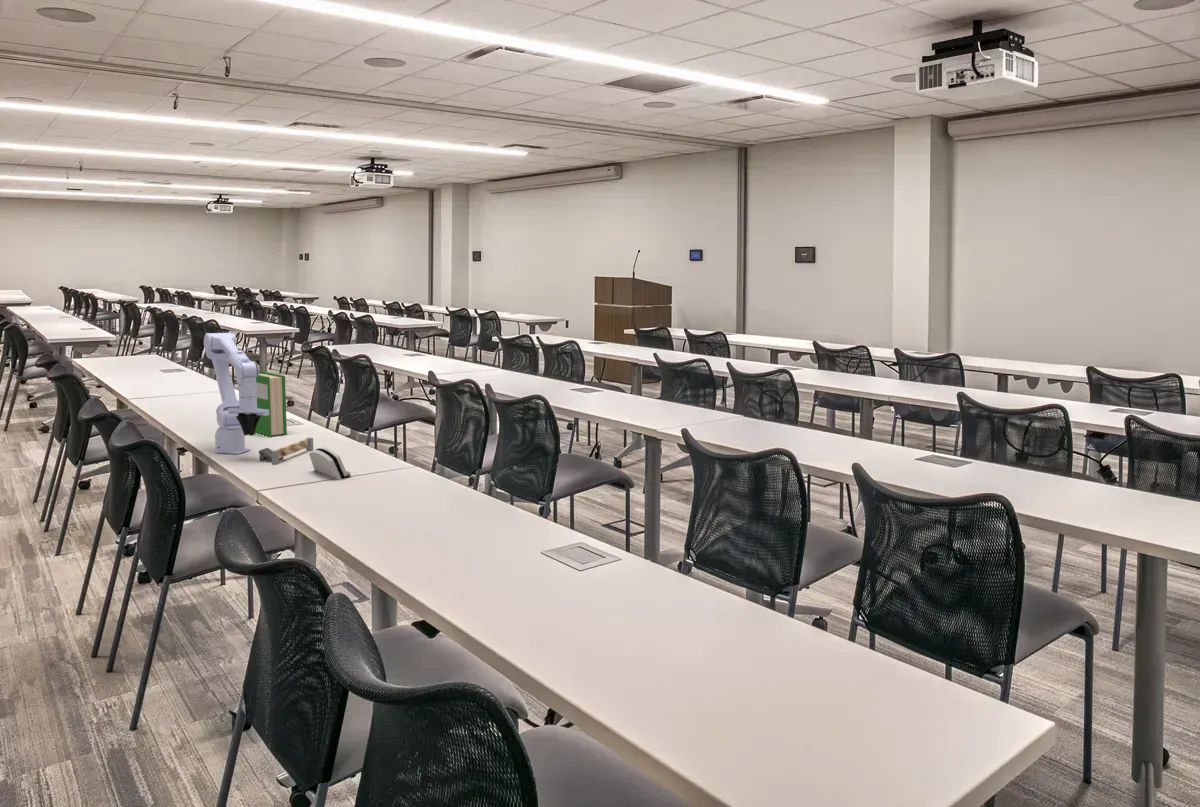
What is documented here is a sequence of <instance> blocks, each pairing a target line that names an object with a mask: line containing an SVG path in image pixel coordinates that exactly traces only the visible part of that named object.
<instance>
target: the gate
mask: <svg viewBox="0 0 1200 807" xmlns="http://www.w3.org/2000/svg"><path fill="white" fill-rule="evenodd" d="M306 448H308V439H306V438H305V439H301V440H300V441H297V442H294V443H291V444H288V445H285V446H283V447H280V448H277V449H275V450H276V451H278V452H279V458H282V457H283V458H285V457H287V456H289V455H292V454H294V453H297V452H299V451H303V450H306Z"/></svg>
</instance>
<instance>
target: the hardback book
mask: <svg viewBox="0 0 1200 807" xmlns="http://www.w3.org/2000/svg"><path fill="white" fill-rule="evenodd" d="M256 390H257V408H259V409H266V410H269V415H268V416H264V415H261V417H260V419H259V421H258V423H257V426H256V430H255V433H257V434H256V435H259V434H260V435H259V436H262V435H264V436H263V437H265V436H267V437H266V438H269V437H270V438H272V436H275V435H276V436H277V435H281V434H283V435H282V436H284V435H286V436H288V431H287V430H288V428H287V427H288V426H287V401H286V400H287V398H286V396H287V395H286V375H283V374H277V373H272V372H268V371H259V375H258V377H257V378H256Z"/></svg>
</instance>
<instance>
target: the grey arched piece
mask: <svg viewBox="0 0 1200 807" xmlns="http://www.w3.org/2000/svg"><path fill="white" fill-rule="evenodd" d="M308 455H309V457H310V458H309V459H310V461H311V464H312V467H313V470H314V471H315V470H316V471H315V472H318V471H319V472H318V473H320V472H321V473H320V474H323V473H324V474H323V475H325V474H326V475H325V476H328V475H329V476H328V477H330V476H331V477H330V478H333V477H334V478H333V479H335V478H336V480H341V479H342V477H348V476H349V477H348V478H352V474H351V472H350V471H347V469H346V468H345V466H344V463H343V461H342V459H341V456H340V455H339V454H337V453H336V452H335V451H333V450H332V449H331V448H328V447H326V446H325V447H323V446H321V447H318V448H316V449H313V450H311V451H309V454H308Z"/></svg>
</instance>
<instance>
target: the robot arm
mask: <svg viewBox="0 0 1200 807" xmlns="http://www.w3.org/2000/svg"><path fill="white" fill-rule="evenodd" d="M203 348H204V352H205V355H206V358H208V359H209V360H211V363H212V366H213V369H214V373H215V376H216V381H217V382H216V383H217V385H218V390H219V394H220V398H221V403H220V404H219V405H218V406H217V407H216V410H215V412H216V422H217V425H218V426H219V427H218V428H216V430H215V435H214V437H215V440H214V441H215V444H214V445H215V450H214V453H217V454H231V455H233V454H234V455H239V454H243V453H246V452H248V451H250V450H251V448H248V447H246V437H245V436H250V437H252V436H255V430H256V426H257V423H258V421H259V419H260V417H261V415H264V416H268V415H269V410H266V409H259V408H257V390H256V378H257V377H258V375H259V372H260V370H259V369H260V368H259V364H258V363H257V362H256V361H254V360H250V359H249V357H248V356H247V355H246V353H245V352H244V351H243V350H239V349H238V348H239V347H238V346H237V337H236V335H235V334H234V332H214V333H213V332H211V333H209V332H206V333H205V334H204V337H203ZM228 362H229V363H230V365H231V366H232V367H233V368H234V374H235V376H236V377H235V378H236V383H237V385H238V399H237V395H236V392H235V390H236V389H235V388H234V383H233V379H232V375H231V372H230V367H229V363H228Z"/></svg>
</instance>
